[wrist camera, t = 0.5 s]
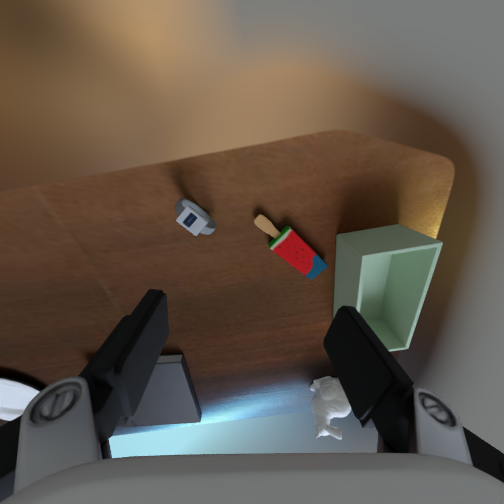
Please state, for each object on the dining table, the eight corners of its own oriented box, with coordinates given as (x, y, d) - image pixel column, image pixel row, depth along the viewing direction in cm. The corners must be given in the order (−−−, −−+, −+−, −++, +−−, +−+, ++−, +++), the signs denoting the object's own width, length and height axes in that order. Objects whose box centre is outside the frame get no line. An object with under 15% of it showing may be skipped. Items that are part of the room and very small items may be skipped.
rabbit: (311, 395, 53) (328, 455, 42) (295, 381, 50) (309, 443, 39) (350, 380, 50) (379, 439, 40) (335, 363, 47) (363, 424, 36)
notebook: (201, 413, 55) (183, 353, 43) (200, 422, 53) (180, 362, 41) (129, 417, 55) (89, 358, 42) (124, 427, 53) (81, 368, 40)
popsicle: (267, 207, 27) (330, 264, 32) (266, 204, 28) (326, 260, 33) (246, 229, 28) (310, 281, 33) (246, 226, 29) (307, 276, 34)
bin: (336, 234, 31) (362, 255, 24) (398, 223, 30) (443, 242, 23) (332, 323, 40) (350, 357, 33) (380, 316, 40) (408, 348, 33)
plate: (44, 420, 54) (38, 429, 52) (-45, 396, 47) (-56, 405, 45) (72, 390, 48) (66, 398, 46) (-27, 357, 41) (-38, 365, 39)
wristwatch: (221, 219, 29) (217, 229, 24) (210, 231, 30) (204, 243, 25) (188, 190, 27) (177, 196, 22) (177, 204, 27) (164, 213, 23)
